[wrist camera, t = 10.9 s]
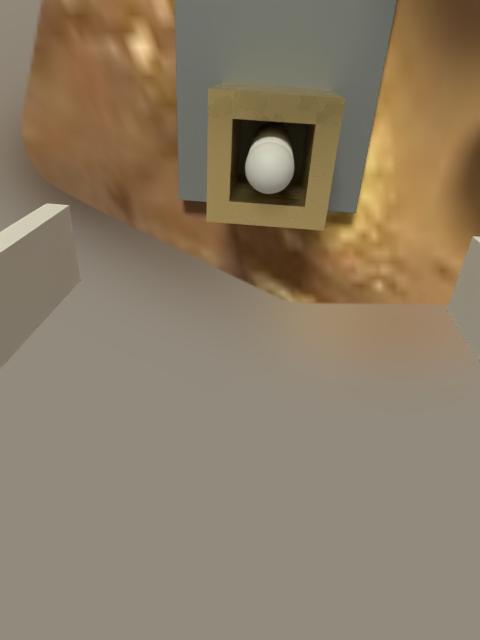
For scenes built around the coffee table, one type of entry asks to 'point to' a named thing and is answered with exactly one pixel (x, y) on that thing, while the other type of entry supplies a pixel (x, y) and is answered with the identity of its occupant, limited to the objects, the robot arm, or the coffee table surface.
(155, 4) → the coffee table surface
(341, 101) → the collar
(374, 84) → the post plate
